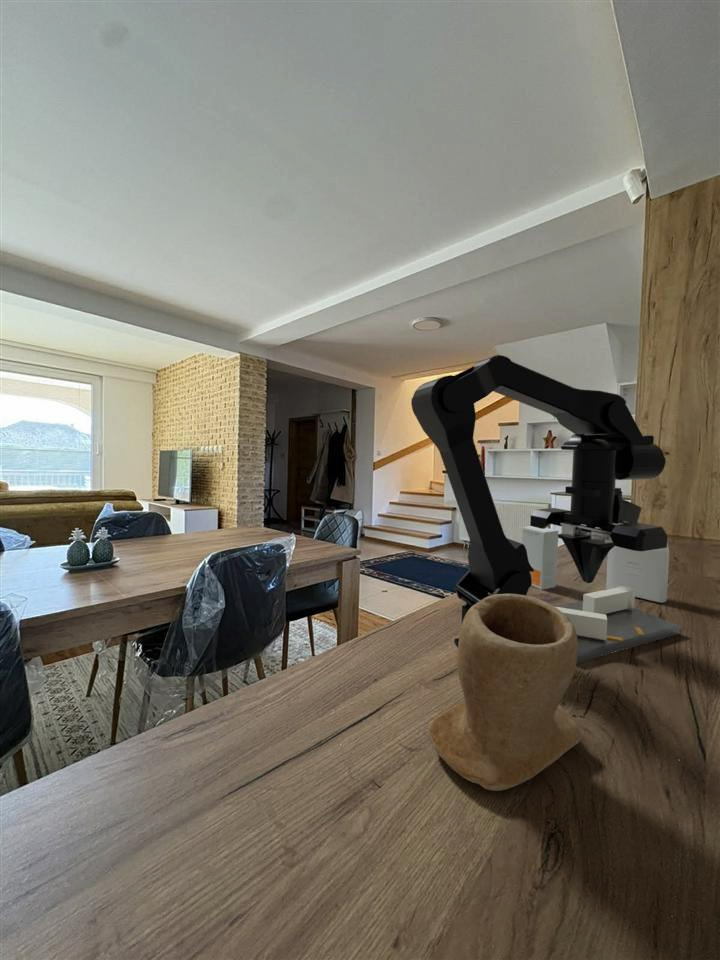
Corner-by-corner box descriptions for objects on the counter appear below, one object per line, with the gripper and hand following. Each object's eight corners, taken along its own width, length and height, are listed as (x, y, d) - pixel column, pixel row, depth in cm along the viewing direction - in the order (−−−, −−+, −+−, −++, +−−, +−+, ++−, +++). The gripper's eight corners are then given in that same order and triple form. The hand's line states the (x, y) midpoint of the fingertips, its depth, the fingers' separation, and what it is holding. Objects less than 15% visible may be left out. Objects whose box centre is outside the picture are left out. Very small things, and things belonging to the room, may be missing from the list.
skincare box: (518, 581, 90) (521, 526, 89) (533, 578, 92) (535, 525, 91) (541, 590, 84) (544, 532, 83) (556, 587, 86) (559, 530, 85)
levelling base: (573, 665, 56) (574, 645, 55) (503, 625, 68) (504, 609, 67) (679, 635, 65) (680, 617, 65) (601, 604, 77) (601, 590, 77)
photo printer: (602, 590, 85) (605, 530, 84) (610, 585, 87) (613, 527, 86) (662, 605, 77) (667, 539, 76) (669, 600, 80) (674, 536, 78)
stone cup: (509, 839, 31) (517, 646, 30) (411, 741, 41) (414, 594, 40) (620, 762, 39) (630, 605, 38) (514, 695, 49) (519, 570, 48)
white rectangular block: (528, 626, 63) (529, 607, 63) (529, 620, 65) (530, 602, 65) (606, 640, 59) (607, 620, 59) (604, 633, 61) (605, 614, 61)
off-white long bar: (622, 602, 73) (623, 585, 73) (636, 607, 71) (637, 590, 71) (581, 611, 69) (582, 593, 69) (594, 616, 67) (595, 598, 67)
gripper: (696, 484, 57) (687, 595, 58) (577, 474, 74) (572, 560, 75) (643, 487, 53) (635, 607, 54) (529, 476, 70) (526, 567, 71)
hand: (587, 582), depth 64 cm, fingers closed
